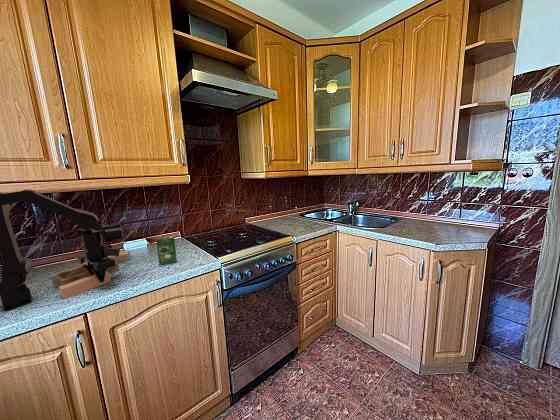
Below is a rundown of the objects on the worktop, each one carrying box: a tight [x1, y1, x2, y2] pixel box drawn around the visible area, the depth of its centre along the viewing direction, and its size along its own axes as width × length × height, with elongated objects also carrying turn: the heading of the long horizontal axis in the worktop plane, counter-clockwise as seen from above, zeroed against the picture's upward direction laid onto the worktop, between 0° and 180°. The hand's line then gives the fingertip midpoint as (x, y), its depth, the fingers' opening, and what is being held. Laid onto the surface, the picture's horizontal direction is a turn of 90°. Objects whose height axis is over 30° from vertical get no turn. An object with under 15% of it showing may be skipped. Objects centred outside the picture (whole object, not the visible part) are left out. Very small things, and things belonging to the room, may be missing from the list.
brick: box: [103, 249, 132, 264], centre depth 119 cm, size 17×8×5 cm, turn 121°
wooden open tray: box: [50, 262, 120, 288], centre depth 102 cm, size 20×11×4 cm, turn 149°
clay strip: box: [57, 271, 112, 300], centre depth 91 cm, size 15×4×4 cm, turn 149°
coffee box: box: [155, 235, 178, 266], centre depth 113 cm, size 8×3×13 cm, turn 108°
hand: (100, 281), depth 95 cm, fingers closed on clay strip, 3 cm apart
